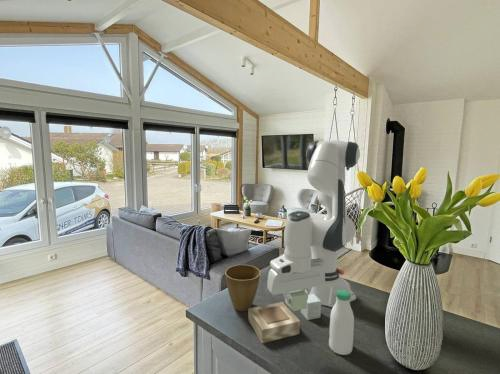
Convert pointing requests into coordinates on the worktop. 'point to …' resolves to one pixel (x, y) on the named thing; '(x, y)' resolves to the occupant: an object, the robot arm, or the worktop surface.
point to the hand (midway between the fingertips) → (296, 301)
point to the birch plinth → (273, 322)
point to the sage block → (298, 300)
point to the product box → (312, 308)
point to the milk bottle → (341, 324)
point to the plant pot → (242, 285)
